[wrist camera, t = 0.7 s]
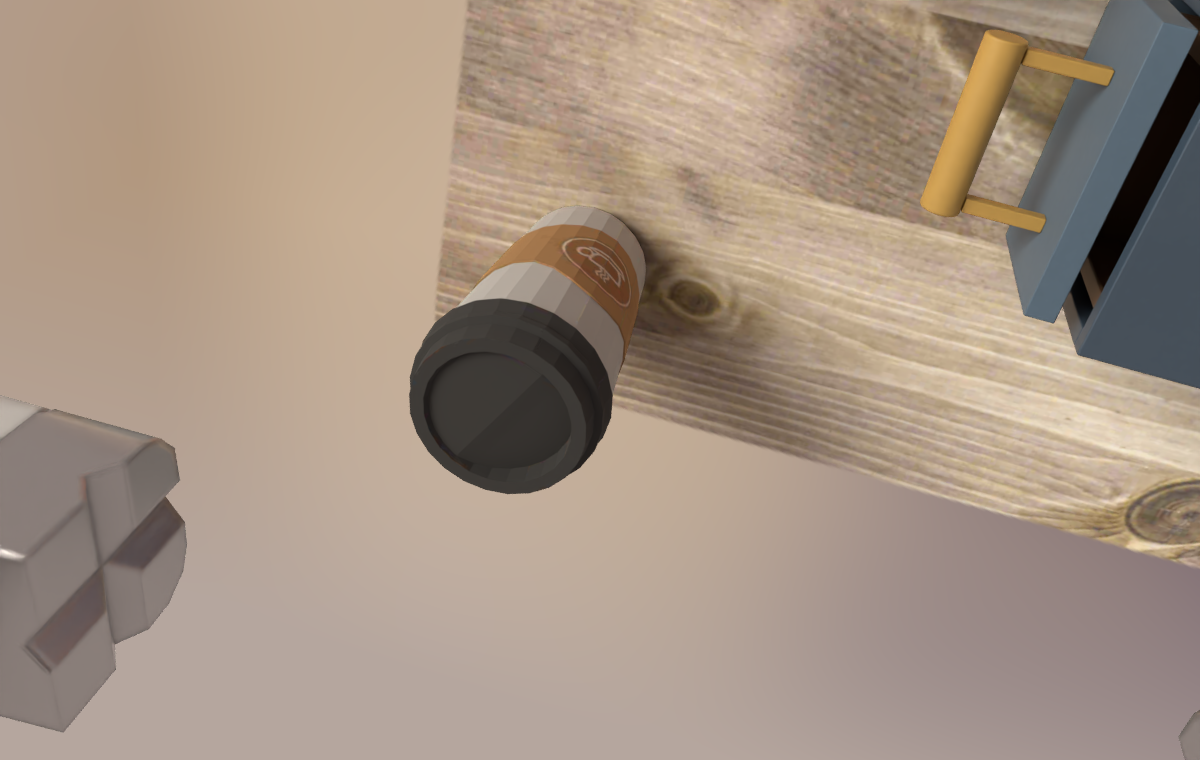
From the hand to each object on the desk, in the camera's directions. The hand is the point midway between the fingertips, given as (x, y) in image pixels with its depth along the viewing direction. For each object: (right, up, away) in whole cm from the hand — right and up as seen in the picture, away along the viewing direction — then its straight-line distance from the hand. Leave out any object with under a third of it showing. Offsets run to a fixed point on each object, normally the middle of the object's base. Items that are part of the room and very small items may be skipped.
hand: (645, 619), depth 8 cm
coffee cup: (-1, +8, +46) cm, 47 cm away
